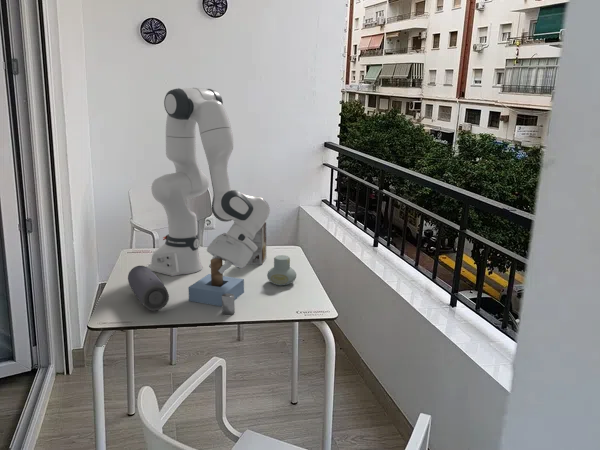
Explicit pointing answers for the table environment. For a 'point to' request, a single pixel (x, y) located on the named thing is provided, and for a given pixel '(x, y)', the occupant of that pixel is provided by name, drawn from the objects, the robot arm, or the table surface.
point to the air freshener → (281, 271)
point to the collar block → (215, 290)
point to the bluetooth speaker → (148, 288)
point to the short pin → (228, 304)
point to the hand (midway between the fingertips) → (215, 270)
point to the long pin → (216, 272)
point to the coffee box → (259, 247)
